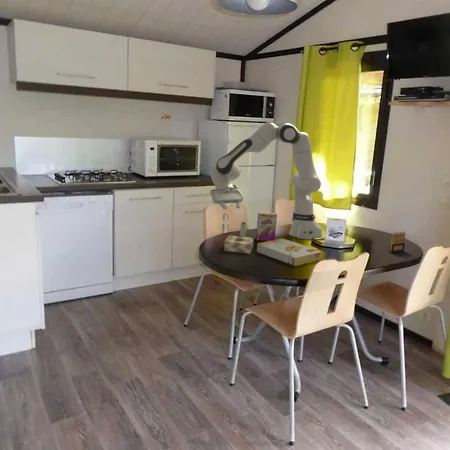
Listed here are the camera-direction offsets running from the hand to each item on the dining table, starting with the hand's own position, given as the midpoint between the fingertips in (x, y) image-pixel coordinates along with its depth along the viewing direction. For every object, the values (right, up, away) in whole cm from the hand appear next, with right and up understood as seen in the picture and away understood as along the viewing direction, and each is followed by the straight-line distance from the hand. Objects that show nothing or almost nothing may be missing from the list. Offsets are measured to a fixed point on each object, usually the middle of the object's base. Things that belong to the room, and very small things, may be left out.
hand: (232, 208), depth 262 cm
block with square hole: (+3, -23, -18) cm, 29 cm away
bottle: (+6, -20, -6) cm, 22 cm away
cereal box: (+29, -27, -26) cm, 47 cm away
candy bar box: (+20, -19, +2) cm, 27 cm away
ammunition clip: (+94, -25, -6) cm, 98 cm away
